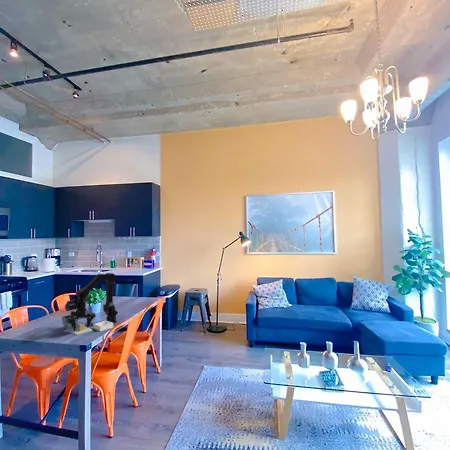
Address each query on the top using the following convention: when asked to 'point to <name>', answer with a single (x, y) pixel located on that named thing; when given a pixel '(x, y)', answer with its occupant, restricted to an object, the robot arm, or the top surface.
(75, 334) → the mat
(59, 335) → the top surface
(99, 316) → the top surface
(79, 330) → the lid
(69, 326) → the flower pot
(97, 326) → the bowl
